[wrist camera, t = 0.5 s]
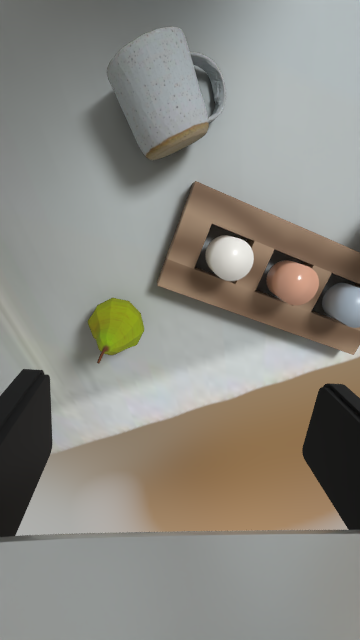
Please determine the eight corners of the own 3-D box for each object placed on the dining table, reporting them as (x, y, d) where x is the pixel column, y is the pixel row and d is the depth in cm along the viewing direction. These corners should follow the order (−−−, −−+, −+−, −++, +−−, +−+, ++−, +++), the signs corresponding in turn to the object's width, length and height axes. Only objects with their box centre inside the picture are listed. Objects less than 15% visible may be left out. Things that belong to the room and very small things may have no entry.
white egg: (214, 229, 34) (221, 231, 30) (249, 243, 35) (260, 247, 31) (199, 266, 35) (205, 272, 31) (233, 279, 36) (242, 286, 32)
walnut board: (192, 183, 34) (195, 181, 32) (389, 268, 40) (403, 271, 38) (157, 281, 38) (157, 285, 36) (342, 347, 43) (353, 354, 41)
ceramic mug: (146, 170, 34) (146, 157, 26) (110, 89, 31) (99, 50, 24) (233, 126, 33) (258, 101, 26) (204, 39, 30) (222, -16, 23)
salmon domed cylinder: (276, 254, 35) (291, 259, 32) (308, 267, 36) (326, 273, 33) (260, 289, 37) (272, 297, 33) (291, 301, 38) (306, 310, 34)
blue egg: (333, 277, 37) (353, 285, 33) (362, 289, 38) (385, 298, 34) (315, 310, 38) (333, 320, 34) (344, 321, 39) (365, 332, 35)
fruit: (152, 306, 39) (152, 344, 28) (132, 346, 41) (124, 397, 29) (105, 284, 38) (85, 314, 26) (86, 326, 39) (59, 372, 28)
